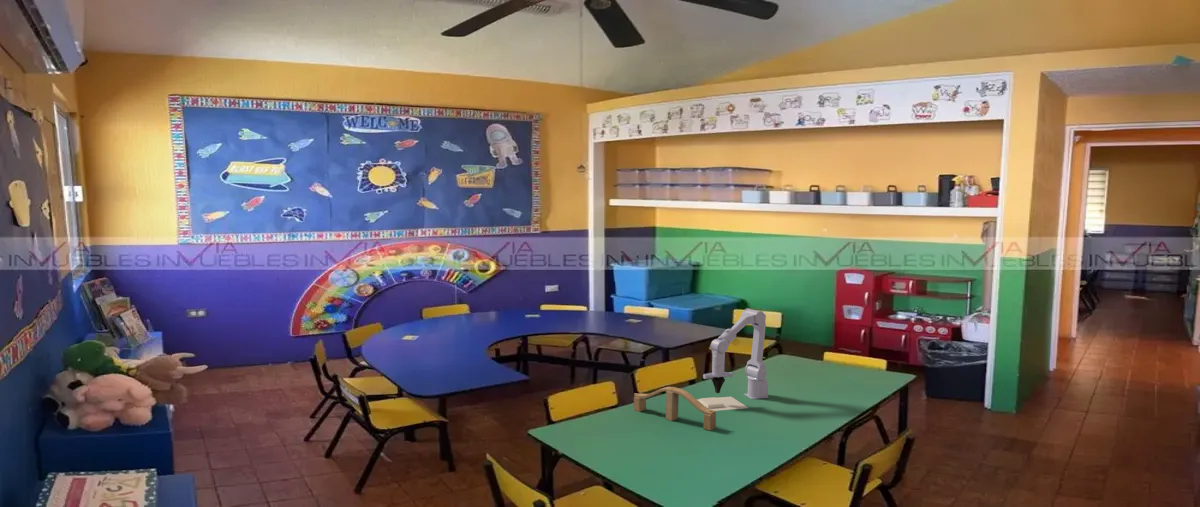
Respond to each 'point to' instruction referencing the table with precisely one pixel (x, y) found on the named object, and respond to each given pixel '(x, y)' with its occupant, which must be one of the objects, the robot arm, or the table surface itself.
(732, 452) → the table surface
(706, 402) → the tile
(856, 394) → the table surface
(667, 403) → the toy bridge
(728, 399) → the mat
